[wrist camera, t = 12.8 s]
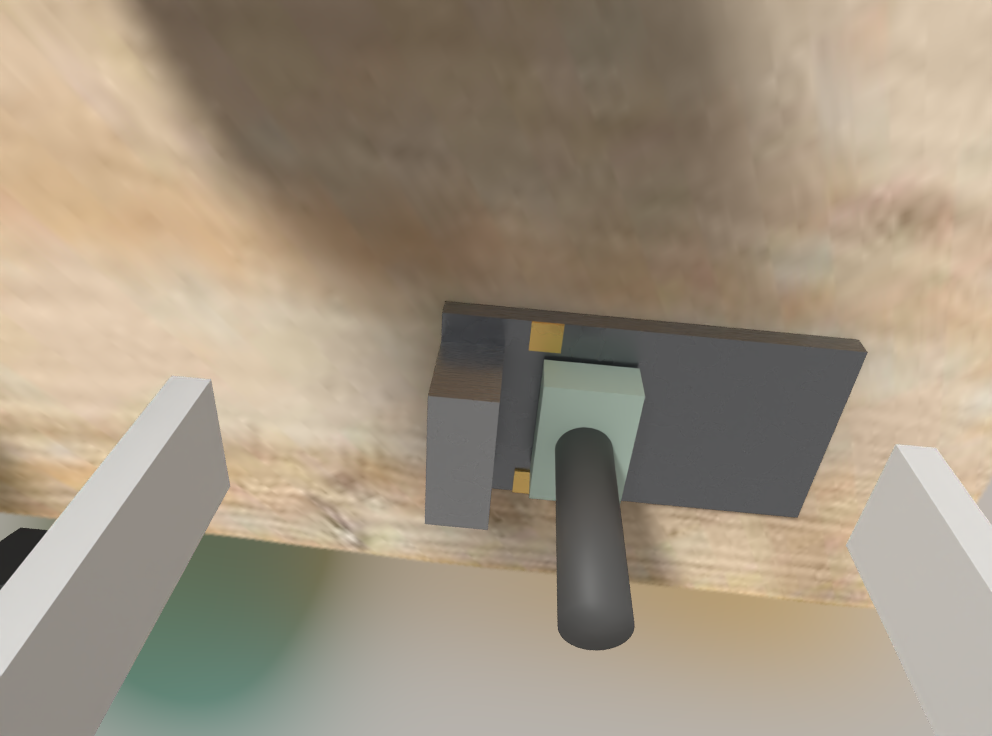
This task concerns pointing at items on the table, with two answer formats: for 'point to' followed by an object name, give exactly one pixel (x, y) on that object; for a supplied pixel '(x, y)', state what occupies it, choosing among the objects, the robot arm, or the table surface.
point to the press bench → (665, 414)
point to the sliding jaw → (588, 493)
